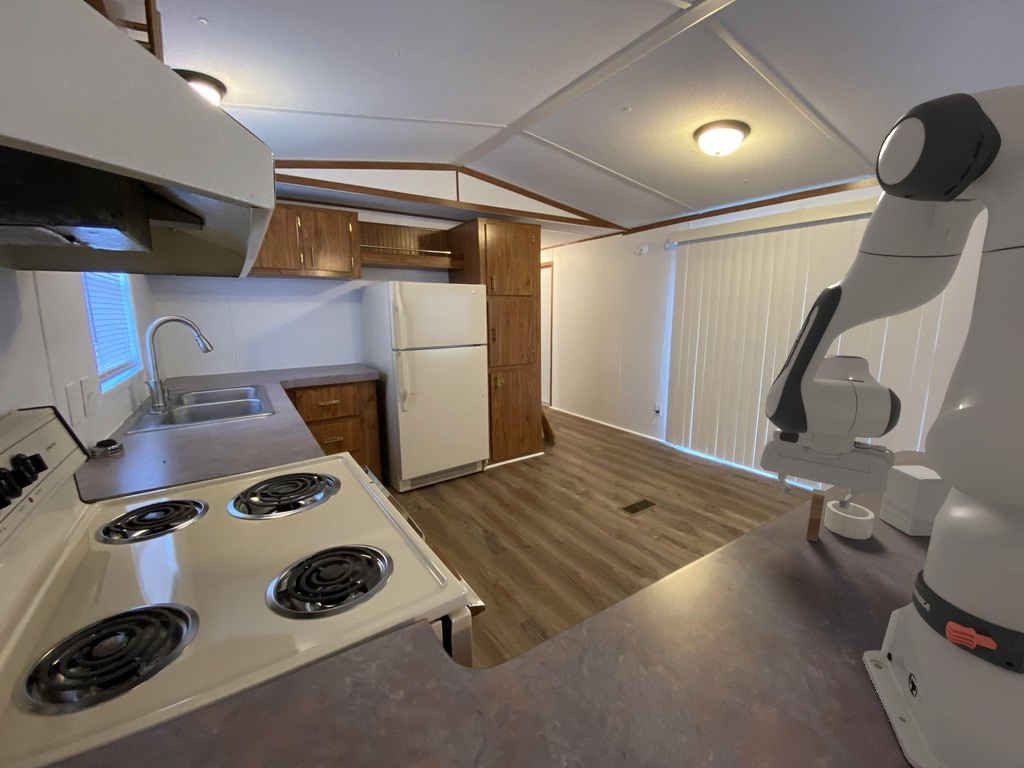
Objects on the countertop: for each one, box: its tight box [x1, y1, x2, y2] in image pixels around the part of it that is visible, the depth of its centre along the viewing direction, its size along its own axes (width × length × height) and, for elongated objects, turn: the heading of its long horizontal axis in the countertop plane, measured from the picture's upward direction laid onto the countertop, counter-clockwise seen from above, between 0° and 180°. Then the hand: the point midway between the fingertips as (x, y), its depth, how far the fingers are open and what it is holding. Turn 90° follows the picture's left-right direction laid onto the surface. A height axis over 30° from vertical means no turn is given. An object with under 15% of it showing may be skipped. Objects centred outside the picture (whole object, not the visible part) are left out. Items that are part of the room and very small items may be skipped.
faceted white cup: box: [823, 500, 875, 540], centre depth 86 cm, size 8×8×4 cm
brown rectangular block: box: [805, 487, 825, 543], centre depth 82 cm, size 3×2×10 cm, turn 144°
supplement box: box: [879, 465, 952, 537], centre depth 86 cm, size 7×7×13 cm
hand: (813, 500), depth 82 cm, fingers open, 8 cm apart
